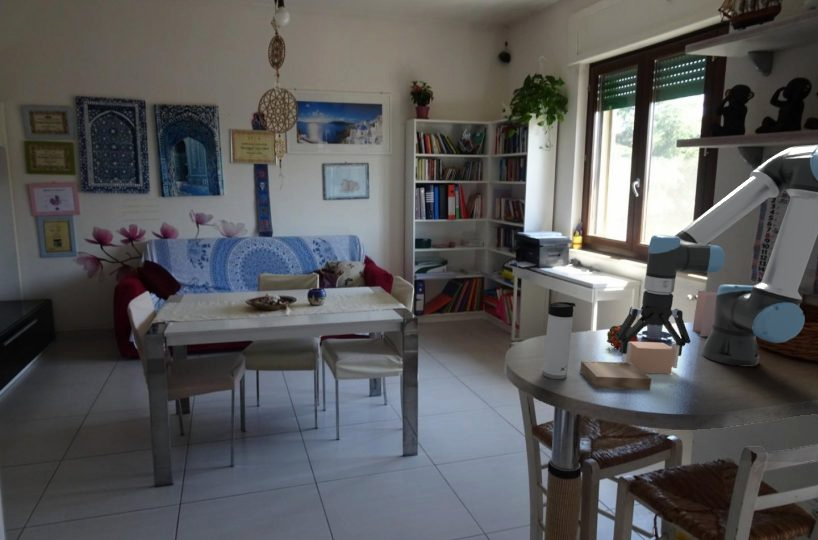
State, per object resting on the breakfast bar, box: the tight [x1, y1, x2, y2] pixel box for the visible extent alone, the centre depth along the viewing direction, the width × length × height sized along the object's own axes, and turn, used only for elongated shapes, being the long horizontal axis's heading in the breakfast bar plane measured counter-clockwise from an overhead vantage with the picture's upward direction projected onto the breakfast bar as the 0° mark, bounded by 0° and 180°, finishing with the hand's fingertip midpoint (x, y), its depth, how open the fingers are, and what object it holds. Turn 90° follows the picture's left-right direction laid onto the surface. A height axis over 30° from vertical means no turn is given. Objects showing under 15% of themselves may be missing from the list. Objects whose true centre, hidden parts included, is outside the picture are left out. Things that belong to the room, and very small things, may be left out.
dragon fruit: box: [606, 324, 640, 351], centre depth 175 cm, size 8×8×12 cm
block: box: [629, 341, 674, 375], centre depth 156 cm, size 10×6×7 cm, turn 91°
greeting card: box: [692, 289, 717, 337], centre depth 196 cm, size 11×7×15 cm, turn 66°
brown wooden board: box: [579, 360, 652, 391], centre depth 147 cm, size 14×12×3 cm
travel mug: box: [542, 301, 576, 380], centre depth 147 cm, size 6×7×20 cm
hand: (649, 365), depth 156 cm, fingers open, 13 cm apart
